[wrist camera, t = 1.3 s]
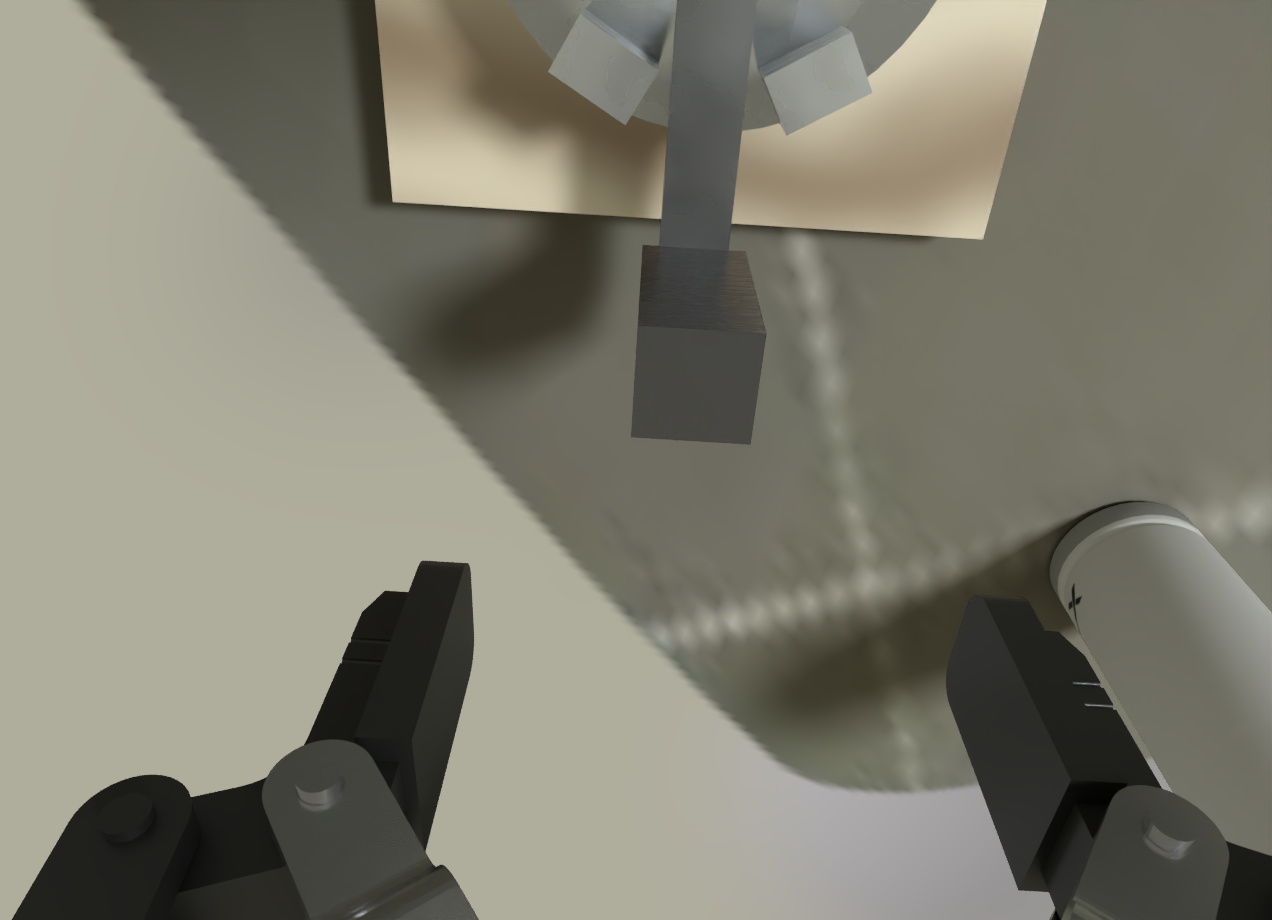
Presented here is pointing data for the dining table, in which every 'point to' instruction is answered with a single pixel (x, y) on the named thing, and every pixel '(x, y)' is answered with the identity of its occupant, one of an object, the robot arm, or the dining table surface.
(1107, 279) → the dining table surface
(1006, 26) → the base plate
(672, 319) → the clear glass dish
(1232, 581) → the travel mug
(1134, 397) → the dining table surface
